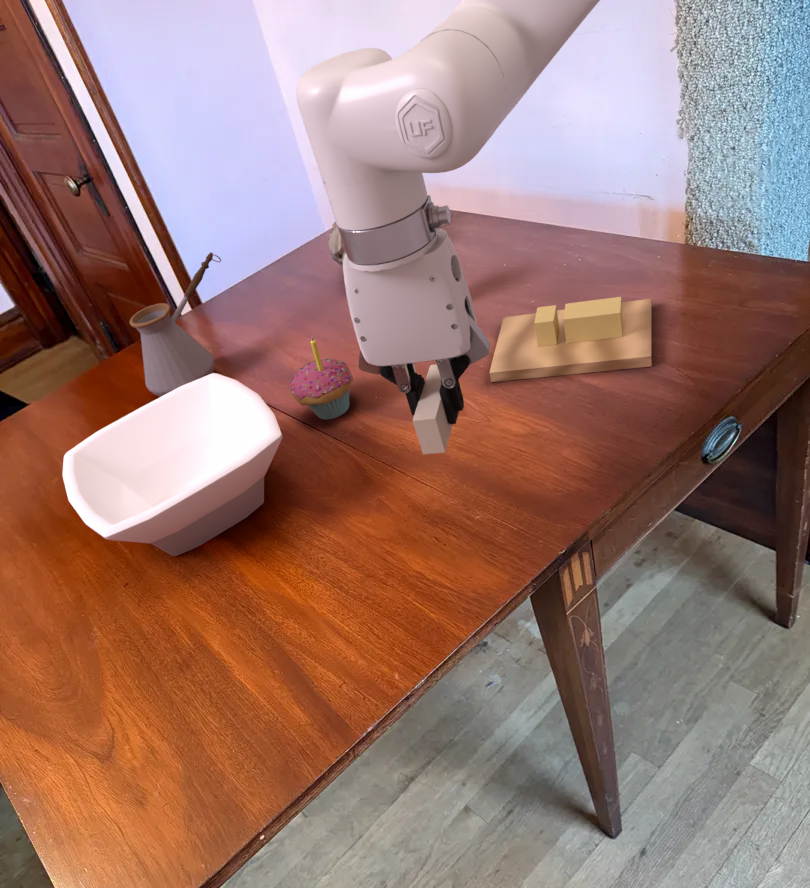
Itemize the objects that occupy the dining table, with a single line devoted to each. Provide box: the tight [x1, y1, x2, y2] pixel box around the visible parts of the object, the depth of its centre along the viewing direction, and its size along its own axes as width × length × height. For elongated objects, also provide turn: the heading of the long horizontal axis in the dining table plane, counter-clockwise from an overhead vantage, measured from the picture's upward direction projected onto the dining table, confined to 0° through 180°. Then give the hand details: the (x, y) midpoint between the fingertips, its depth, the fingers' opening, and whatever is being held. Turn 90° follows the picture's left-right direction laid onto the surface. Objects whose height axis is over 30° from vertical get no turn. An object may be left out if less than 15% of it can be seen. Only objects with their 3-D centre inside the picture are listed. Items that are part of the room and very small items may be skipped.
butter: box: [563, 296, 623, 343], centre depth 96 cm, size 7×4×4 cm, turn 76°
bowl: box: [61, 372, 284, 557], centre depth 91 cm, size 24×25×10 cm
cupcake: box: [289, 335, 354, 421], centre depth 99 cm, size 9×8×12 cm
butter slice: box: [534, 304, 559, 347], centre depth 98 cm, size 2×4×4 cm, turn 166°
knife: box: [412, 363, 454, 455], centre depth 75 cm, size 19×2×4 cm, turn 167°
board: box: [488, 298, 653, 383], centre depth 99 cm, size 20×14×2 cm
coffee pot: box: [129, 252, 222, 397], centre depth 117 cm, size 21×12×15 cm, turn 145°
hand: (440, 415), depth 72 cm, fingers closed on knife, 2 cm apart
